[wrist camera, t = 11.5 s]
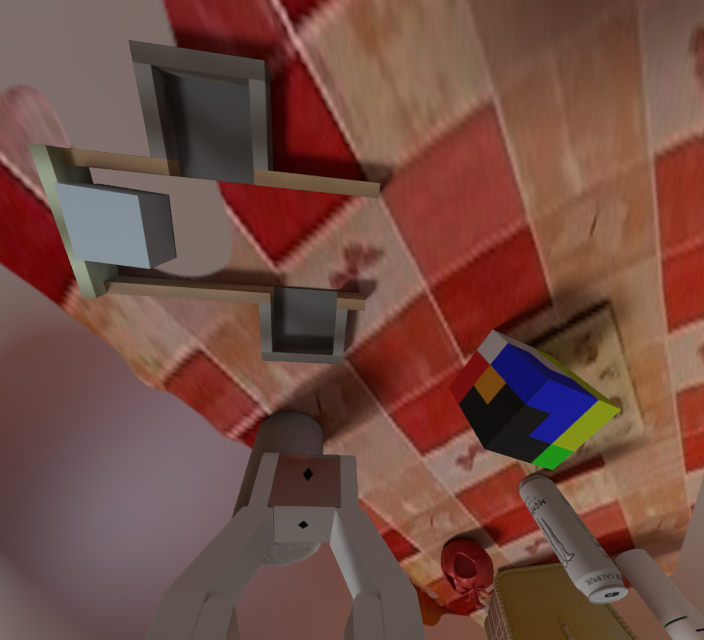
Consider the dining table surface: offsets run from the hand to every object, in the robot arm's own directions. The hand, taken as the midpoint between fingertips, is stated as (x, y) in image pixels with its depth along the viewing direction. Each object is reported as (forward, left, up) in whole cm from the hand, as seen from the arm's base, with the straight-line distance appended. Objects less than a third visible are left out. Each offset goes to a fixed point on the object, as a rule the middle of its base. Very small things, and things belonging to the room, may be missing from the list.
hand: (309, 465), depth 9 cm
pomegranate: (+57, +31, -23) cm, 69 cm away
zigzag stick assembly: (-3, -9, -23) cm, 25 cm away
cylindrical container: (+63, +75, -23) cm, 101 cm away
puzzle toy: (+12, +24, -23) cm, 36 cm away
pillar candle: (+25, -4, -23) cm, 34 cm away
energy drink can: (+36, +39, -23) cm, 58 cm away
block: (-4, -19, -23) cm, 30 cm away
